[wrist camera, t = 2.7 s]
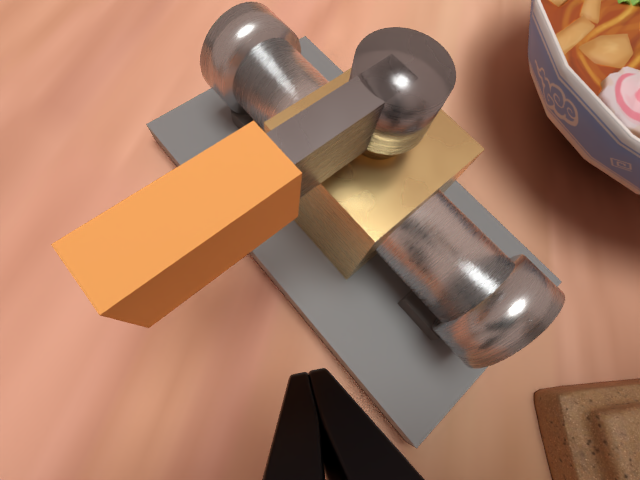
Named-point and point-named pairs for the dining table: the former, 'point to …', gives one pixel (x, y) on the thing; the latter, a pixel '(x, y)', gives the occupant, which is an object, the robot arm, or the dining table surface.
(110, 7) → the dining table surface
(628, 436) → the candle holder
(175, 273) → the valve lever
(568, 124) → the ramen bowl
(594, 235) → the dining table surface
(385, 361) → the valve assembly
